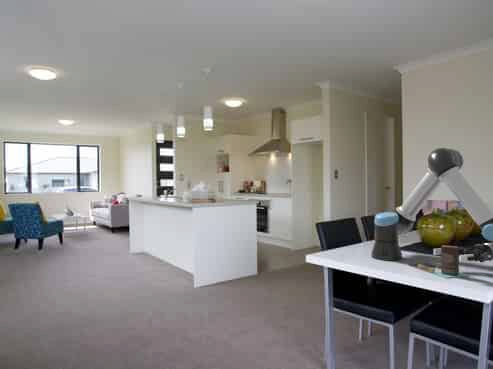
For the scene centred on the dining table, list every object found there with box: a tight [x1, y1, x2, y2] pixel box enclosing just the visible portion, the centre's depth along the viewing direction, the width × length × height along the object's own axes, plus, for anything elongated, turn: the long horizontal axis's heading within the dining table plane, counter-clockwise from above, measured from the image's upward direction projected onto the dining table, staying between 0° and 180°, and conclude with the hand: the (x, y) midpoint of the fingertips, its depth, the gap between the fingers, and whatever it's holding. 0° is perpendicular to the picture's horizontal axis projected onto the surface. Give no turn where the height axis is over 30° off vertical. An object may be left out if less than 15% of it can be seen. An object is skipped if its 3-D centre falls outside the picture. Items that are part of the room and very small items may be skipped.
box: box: [440, 244, 460, 276], centre depth 148 cm, size 6×4×12 cm
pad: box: [432, 271, 469, 279], centre depth 148 cm, size 8×11×1 cm
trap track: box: [408, 262, 442, 274], centre depth 159 cm, size 15×11×2 cm
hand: (446, 255), depth 147 cm, fingers open, 13 cm apart
